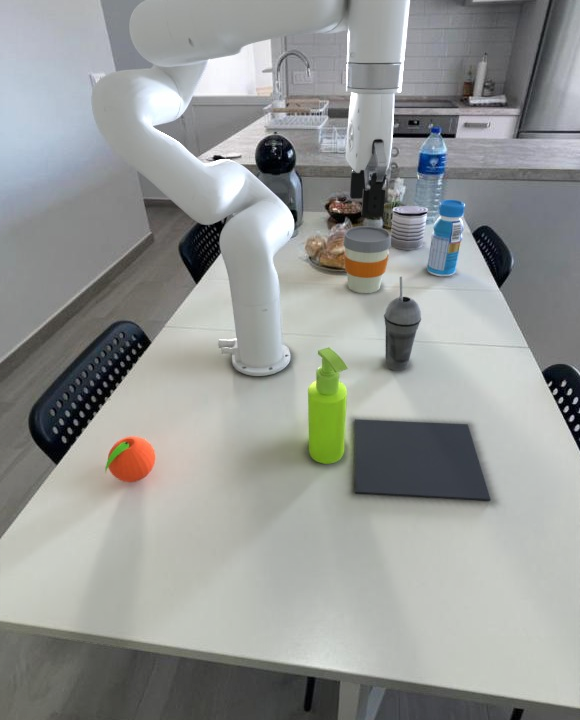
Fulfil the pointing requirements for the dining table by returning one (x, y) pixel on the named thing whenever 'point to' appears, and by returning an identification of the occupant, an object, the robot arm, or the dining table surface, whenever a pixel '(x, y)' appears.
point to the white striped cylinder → (408, 227)
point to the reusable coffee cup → (366, 257)
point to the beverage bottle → (446, 238)
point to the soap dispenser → (327, 410)
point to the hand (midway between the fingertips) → (365, 206)
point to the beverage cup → (400, 330)
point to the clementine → (131, 459)
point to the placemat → (417, 460)
